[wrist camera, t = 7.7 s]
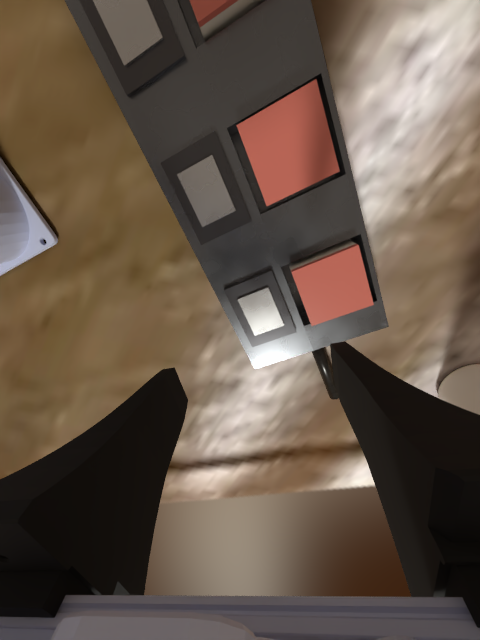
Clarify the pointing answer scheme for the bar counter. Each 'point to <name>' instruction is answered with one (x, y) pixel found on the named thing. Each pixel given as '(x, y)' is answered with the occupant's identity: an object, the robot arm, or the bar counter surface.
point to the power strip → (235, 158)
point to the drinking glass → (462, 388)
